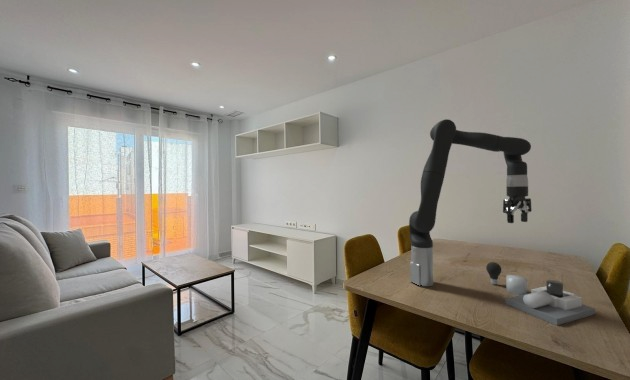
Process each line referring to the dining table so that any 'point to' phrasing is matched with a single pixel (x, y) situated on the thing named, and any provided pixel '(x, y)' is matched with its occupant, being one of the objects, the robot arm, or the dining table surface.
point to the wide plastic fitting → (516, 284)
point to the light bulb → (493, 271)
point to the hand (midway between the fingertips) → (517, 222)
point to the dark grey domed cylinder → (555, 288)
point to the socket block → (551, 306)
